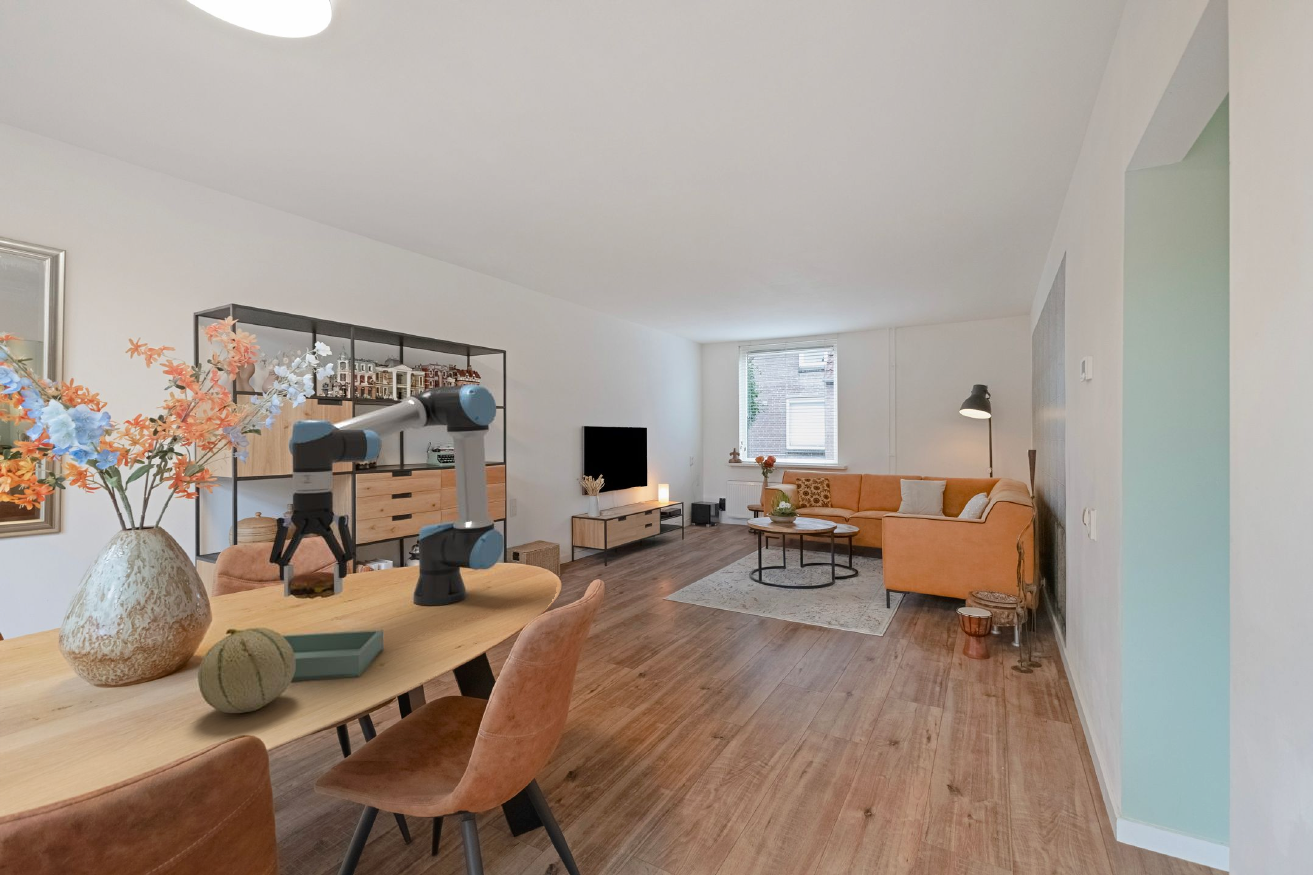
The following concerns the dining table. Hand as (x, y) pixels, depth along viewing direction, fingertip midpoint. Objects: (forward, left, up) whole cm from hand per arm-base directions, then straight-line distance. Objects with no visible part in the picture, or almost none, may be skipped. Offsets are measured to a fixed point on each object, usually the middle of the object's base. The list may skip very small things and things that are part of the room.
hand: (313, 593), depth 128 cm
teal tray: (0, 0, -16) cm, 16 cm away
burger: (0, 0, -1) cm, 1 cm away
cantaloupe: (+20, -3, -16) cm, 26 cm away
